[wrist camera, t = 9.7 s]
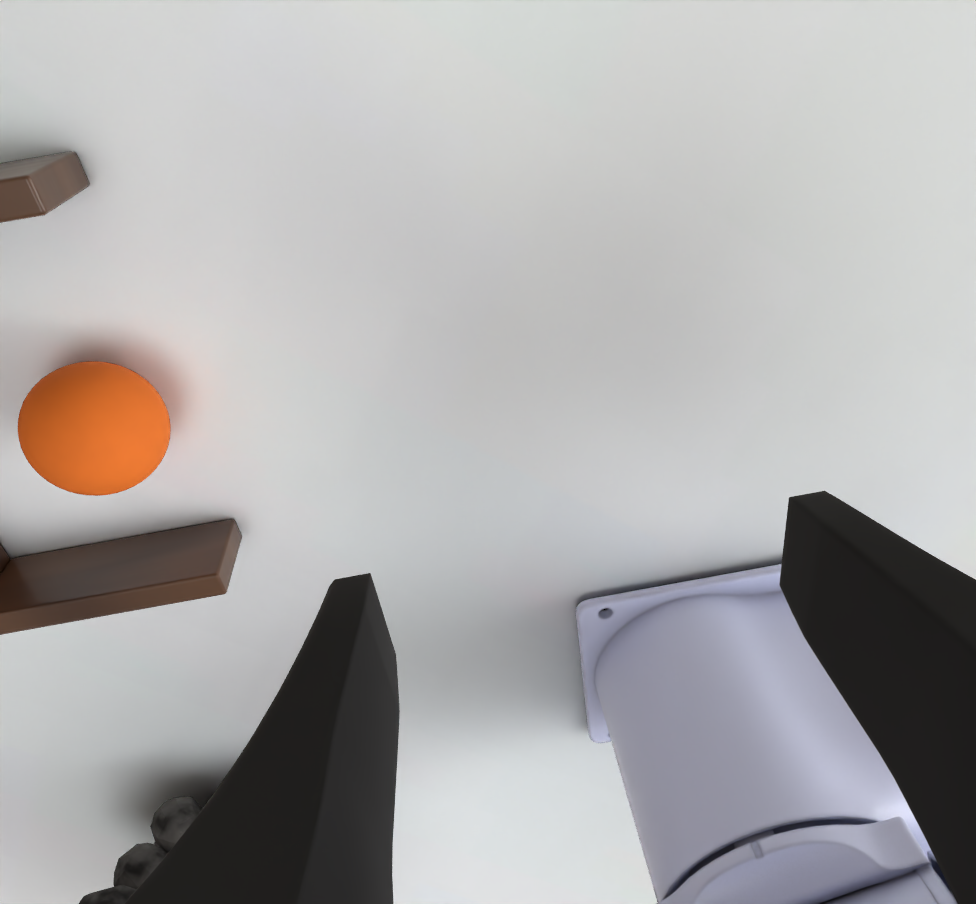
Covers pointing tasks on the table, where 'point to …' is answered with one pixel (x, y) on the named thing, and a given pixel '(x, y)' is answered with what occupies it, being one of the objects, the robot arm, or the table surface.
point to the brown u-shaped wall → (113, 564)
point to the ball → (94, 428)
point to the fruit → (148, 851)
